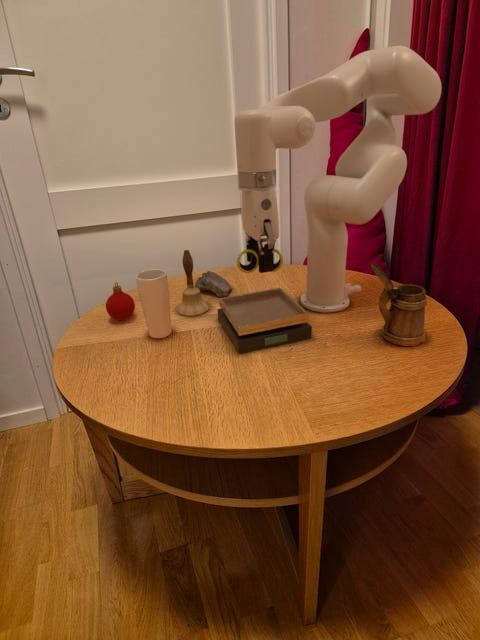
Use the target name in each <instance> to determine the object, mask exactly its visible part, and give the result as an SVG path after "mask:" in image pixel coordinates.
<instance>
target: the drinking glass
mask: <svg viewBox="0 0 480 640" xmlns="http://www.w3.org/2000/svg"><path fill="white" fill-rule="evenodd" d="M135 281H136V289H137V293H138V297H139V302H140V304H141V308H142V311H143V316H144V320H145V322H146V327H147V331H148V335H149V336H150V337H151V338H153V339H164V338H166V337H168V336H170V335H171V333H172V331H173V330H172V321H171V320H172V319H171V305H170V304H171V301H170V287H169V279H168V273H167V271H165V270H163V269H160V268H159V269H158V268H153V269H152V268H151V269H146V270H143V271H140V272H139V273H137V274H136V275H135Z"/></svg>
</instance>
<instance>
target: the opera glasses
mask: <svg viewBox="0 0 480 640" xmlns="http://www.w3.org/2000/svg"><path fill="white" fill-rule="evenodd" d="M247 253H248V254H249V255H250V256H251V262H248V264H242V262H241V258H242V256H243V255H245V254H247ZM274 253H276V254H277V255H278V256H279V258H278V261H277V262H274V270H273V271H270V272H271V273H275V272H278V271H279V270H280V269H281V268H282V266H283V264H284V257H283V254H282V253H281V251H280V250H279V249H276V248H274ZM236 265H237V268H238V269H239V271H240V272H242V273H243V274H251V273H254V272H255V271H256V270H257V269H258V268H259V265H258V255H257V254H256V252H254V251H253V250H247V249H244V250H242V251H240V253H239V254H238V255H237V259H236ZM270 272H269V273H270Z"/></svg>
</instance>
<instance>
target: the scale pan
mask: <svg viewBox="0 0 480 640" xmlns="http://www.w3.org/2000/svg"><path fill="white" fill-rule="evenodd" d="M218 304H219V307H220V309H222V310H223V312H224V313H225V315H226V316H227V318H228V319H229V321H230V322H231V324H232V325H233V327H234V328H235V330H236V332H237V333H238V335H239V336H241V335H246V334H251V333H256V332H261V331H266V330H271V329H276V328H281V327H286V326H291V325H296V324H301V323H306V322H307V323H310V322H309V321H310V313H309V312H308V311H307V310H306V309H304V307H303V306H302V305H301V304H300V303H298V302H297V301H296V300H294V299H293V298H292V296H290V294H288V293H287V292H286V291H285V290H284V289H283V288H282V287H276V288H270V289H265V290H259V291H254V292H248V293H241V294H236V295H231V296H224V297H219V298H218Z"/></svg>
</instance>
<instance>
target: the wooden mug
mask: <svg viewBox="0 0 480 640" xmlns="http://www.w3.org/2000/svg"><path fill="white" fill-rule="evenodd" d="M370 267H371V269H372V271H373V273H374V275H376V277H377V278H378V279H379V281H380V282H381V283H382V285H383V286H384V289H383V290H382V292H381V293H380V295H379V299H378V310H379V312H380V315H381V316H382V318H383V320H384V324H383V326H382V328H381V336H382V337H383V339H385V340H386V341H387V342H388V343H391V344H393V345H396V346H400V347H416V346H418V345H421V344H423V343H425V341H426V338H427V337H426V330H425V329H426V328H425V321H426V320H425V315H426V312H425V311H426V306H427V304H428V301H427V298H428V297H427V296H426V288H424V287H423V286H421V285H417V284H410V283H407V284H406V283H405V284H400V285H397V286H396V287H394V284H393V282H392V280H391V279H390V277H389V276H388V275H387V274H386V272H385V271H384V270H383V269H382V268H381V267H380V266H379V265H378V264H377V263H375V262H371V264H370ZM389 302H390V305H389V309H388V304H389Z"/></svg>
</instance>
